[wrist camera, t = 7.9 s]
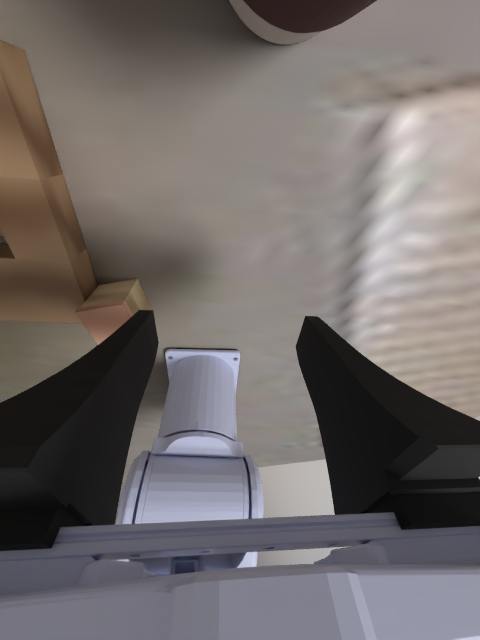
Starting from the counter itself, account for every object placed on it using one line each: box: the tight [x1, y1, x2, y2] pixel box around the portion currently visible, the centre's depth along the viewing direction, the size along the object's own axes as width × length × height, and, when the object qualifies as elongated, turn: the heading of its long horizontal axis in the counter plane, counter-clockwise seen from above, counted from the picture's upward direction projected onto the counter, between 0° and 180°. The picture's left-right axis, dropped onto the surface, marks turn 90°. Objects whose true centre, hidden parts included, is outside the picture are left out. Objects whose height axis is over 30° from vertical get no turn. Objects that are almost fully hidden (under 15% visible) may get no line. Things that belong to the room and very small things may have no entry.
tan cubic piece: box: [75, 279, 152, 345], centre depth 20 cm, size 4×4×4 cm
